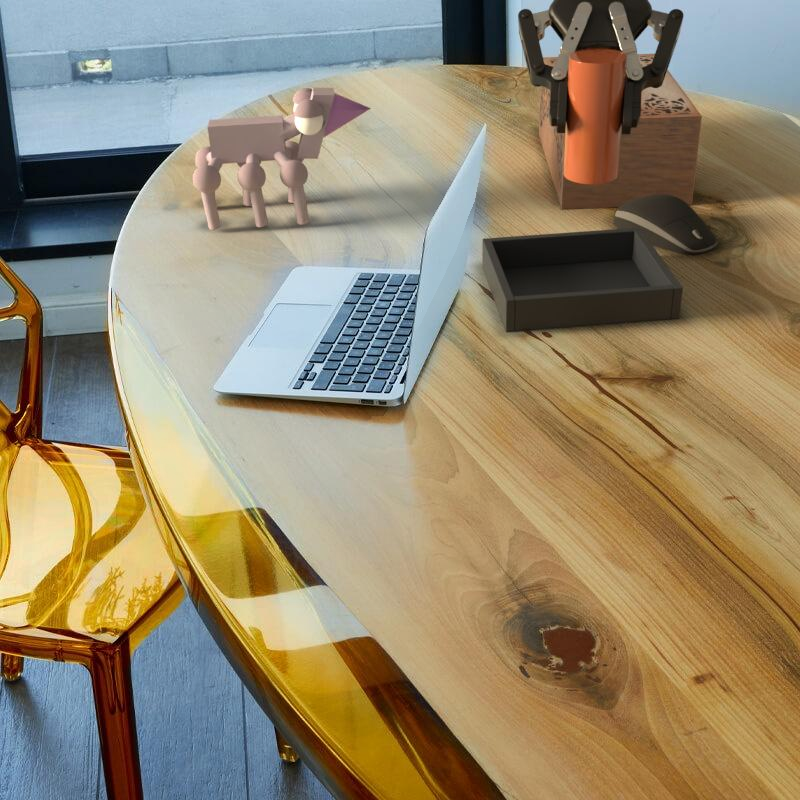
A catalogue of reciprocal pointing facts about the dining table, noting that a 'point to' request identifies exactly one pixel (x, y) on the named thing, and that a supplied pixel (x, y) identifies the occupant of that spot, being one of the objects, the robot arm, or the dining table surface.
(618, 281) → the tray
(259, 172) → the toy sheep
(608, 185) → the tissue box cover
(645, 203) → the computer mouse
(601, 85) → the canister
